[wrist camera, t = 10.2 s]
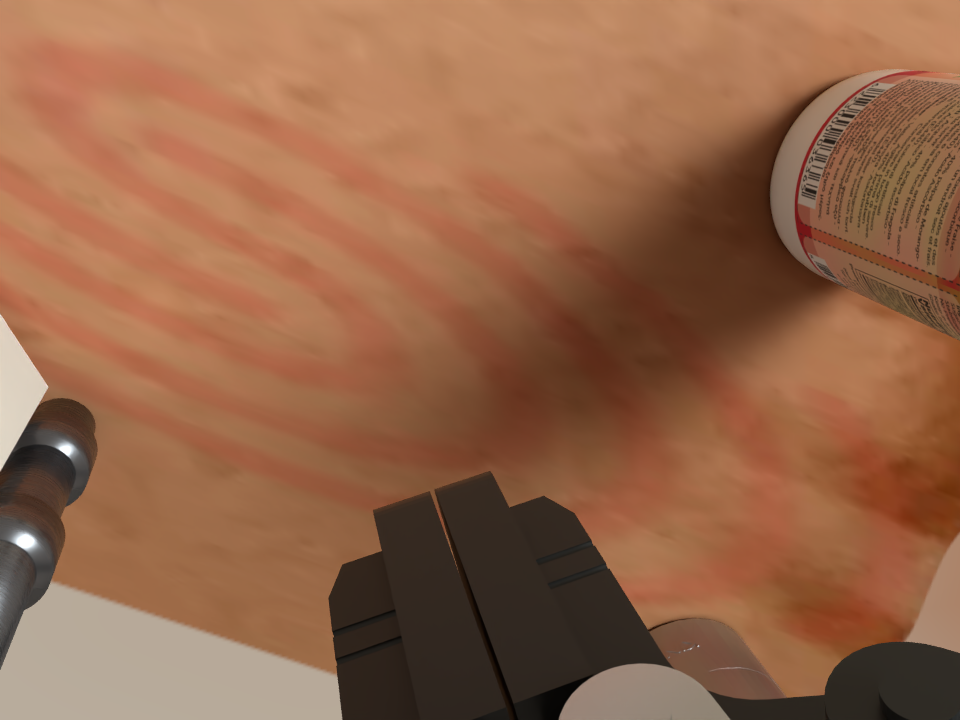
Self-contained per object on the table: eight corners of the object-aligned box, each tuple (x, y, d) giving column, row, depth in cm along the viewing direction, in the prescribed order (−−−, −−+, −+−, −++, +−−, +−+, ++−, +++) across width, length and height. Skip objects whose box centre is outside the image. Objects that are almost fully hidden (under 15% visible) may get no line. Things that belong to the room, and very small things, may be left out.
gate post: (122, 434, 35) (44, 671, 22) (56, 474, 35) (-61, 735, 22) (70, 374, 33) (-45, 592, 21) (1, 416, 33) (-157, 659, 21)
